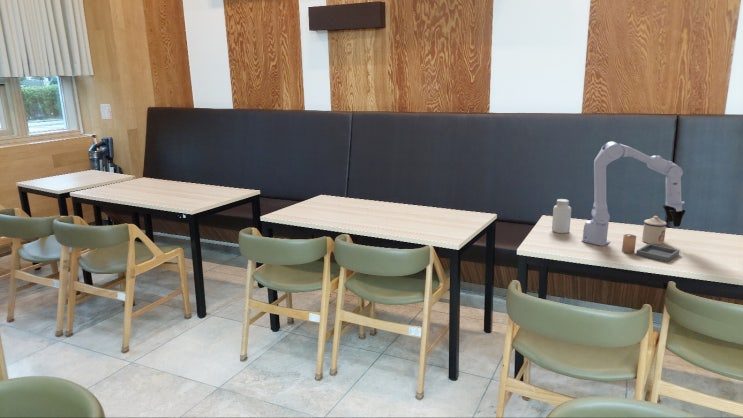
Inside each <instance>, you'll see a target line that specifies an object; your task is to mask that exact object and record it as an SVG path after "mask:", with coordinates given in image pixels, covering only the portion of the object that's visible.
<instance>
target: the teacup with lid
mask: <svg viewBox="0 0 743 418" xmlns="http://www.w3.org/2000/svg"><path fill="white" fill-rule="evenodd" d="M667 225H668V223H667V222H666V221H665V220H662V219H661V218H659V216H657V215H654V216H653V217H651V218H649V219H647V218H646V219H645V220H643V229H642V230H643V231H642V236H641V241H642V242H644V243H646V244H647V245H648V244H653V245H657V246H660V245H663V244H664V242H665V236H666V229H667Z"/></svg>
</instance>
